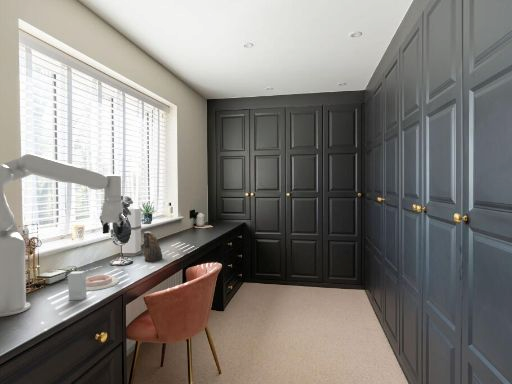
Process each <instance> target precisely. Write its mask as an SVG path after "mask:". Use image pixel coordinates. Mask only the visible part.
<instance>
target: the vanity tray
mask: <svg viewBox="0 0 512 384" xmlns="http://www.w3.org/2000/svg"><path fill="white" fill-rule="evenodd" d="M119 281H120V280H119V278H117V277H115V276H114V277H113V276H112V275H111V274H110V275H109V274H96V275H92V276H87V277H86V292H90V291H98V290H104V289H108V288H112V287H114V286H116V285H118V284H119Z"/></svg>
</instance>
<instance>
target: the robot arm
mask: <svg viewBox="0 0 512 384" xmlns="http://www.w3.org/2000/svg"><path fill="white" fill-rule="evenodd" d="M31 175H34V176H38V177H41V178H45V179H49V180H52V181H57V182H59V183H60V182H62V183H69V184H77V185H81V186H85V187H87V188H89V190H103V191H104V193H103V194H104V195H103V196H104V199H103V203H102V208H101V209H102V210H101V215H99V220H100V223H101V226H102V234H103V235H104V234H109V233H110V225H109V224H111V223H113V224H114V223H116V224H117V227H116V228H117V232H116V233H117V236H118V235H119V236H120V234H123V226H124V224H125V223H126V220H127V217H125V216H124V215H123V209H124V207H123V203H122V177H121V175H119V174H106V175H105V174H103V173H100V172H97V171H94V170H92V169H88V168H84V167H79V166H76V165H74V164H70V163H65V162H63V161H58V160H55V159H52V158H49V157H45V156H41V155H38V154H35V153H26V154H24V155H22V156H20V157H17V158H16V159H12V160H10V161H7V162H3V163H0V317H8V316H9V317H10V316H12V315H18V314H20V313H23V312H25V311H27V310H29V309H30V308H31V306H32V305H31V304H32V303H31V302H28V301H27V296H26V295H27V291H26V289H27V288H26V286H27V285H26V283H27V282H26V255H27V254H26V252H27V251H26V249H27V245H26V241H25V239H24V238H23V236H22V235H21V232H20V229H19V227H18V224H17V222H16V219H15V218H16V217H15V215H14V213H13V212H12V210H11V208H10V206H9V204H8V200H7V197H6V195H5V186H6V185H8V184H10V183H13V182H16V181H19V180H22V179H24V178H26V177H29V176H31Z"/></svg>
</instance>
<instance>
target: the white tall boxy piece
mask: <svg viewBox="0 0 512 384" xmlns="http://www.w3.org/2000/svg"><path fill="white" fill-rule="evenodd" d="M127 208H128V209H129V210H130V211H131V213H132V215H131V216H129V215H128V219H129V221H130V224H131V235H130V239H129V241H128V243H126V244H125V245H123V246H122V253H123V256H122V257H136V256H139V255H140V254H142V244H141V243H142V238H141V237H142V236H141V235H142V208H141V207H127Z"/></svg>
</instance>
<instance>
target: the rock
mask: <svg viewBox="0 0 512 384" xmlns="http://www.w3.org/2000/svg"><path fill="white" fill-rule="evenodd" d="M143 239H144V241H143V247H142V250H143V255H144V262H145V263H155V262H158V261H161V260H164V258H163V254H162V249H161V247H160V243H159V242H158V239H157V236H155V235H154V233H152V232H151V231H150V230H148V231H144V232H143Z"/></svg>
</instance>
